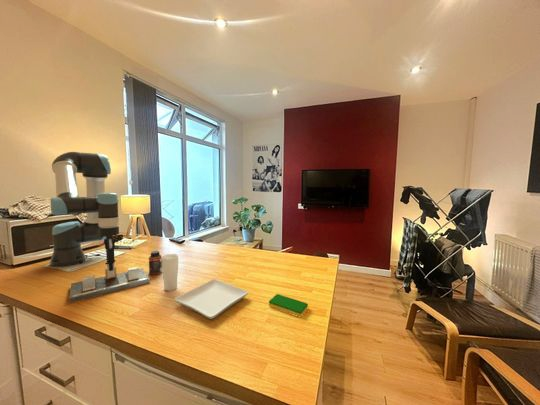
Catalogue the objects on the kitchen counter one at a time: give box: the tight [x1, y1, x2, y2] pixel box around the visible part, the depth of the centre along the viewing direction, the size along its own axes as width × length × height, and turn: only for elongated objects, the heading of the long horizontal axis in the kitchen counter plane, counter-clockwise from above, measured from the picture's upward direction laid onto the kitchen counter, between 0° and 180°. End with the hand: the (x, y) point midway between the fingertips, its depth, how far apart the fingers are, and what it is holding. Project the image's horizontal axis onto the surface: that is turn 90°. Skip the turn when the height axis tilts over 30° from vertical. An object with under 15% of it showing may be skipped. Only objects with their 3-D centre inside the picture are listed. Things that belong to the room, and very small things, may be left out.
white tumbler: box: [161, 253, 179, 292], centre depth 96 cm, size 7×7×15 cm
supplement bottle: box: [148, 250, 162, 276], centre depth 113 cm, size 6×6×11 cm
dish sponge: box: [268, 293, 309, 318], centre depth 84 cm, size 7×14×2 cm, turn 59°
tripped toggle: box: [104, 265, 117, 279], centre depth 102 cm, size 2×4×5 cm, turn 131°
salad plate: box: [174, 278, 249, 320], centre depth 87 cm, size 21×21×3 cm
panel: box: [68, 266, 151, 304], centre depth 99 cm, size 16×28×7 cm, turn 131°
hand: (111, 276), depth 99 cm, fingers closed
